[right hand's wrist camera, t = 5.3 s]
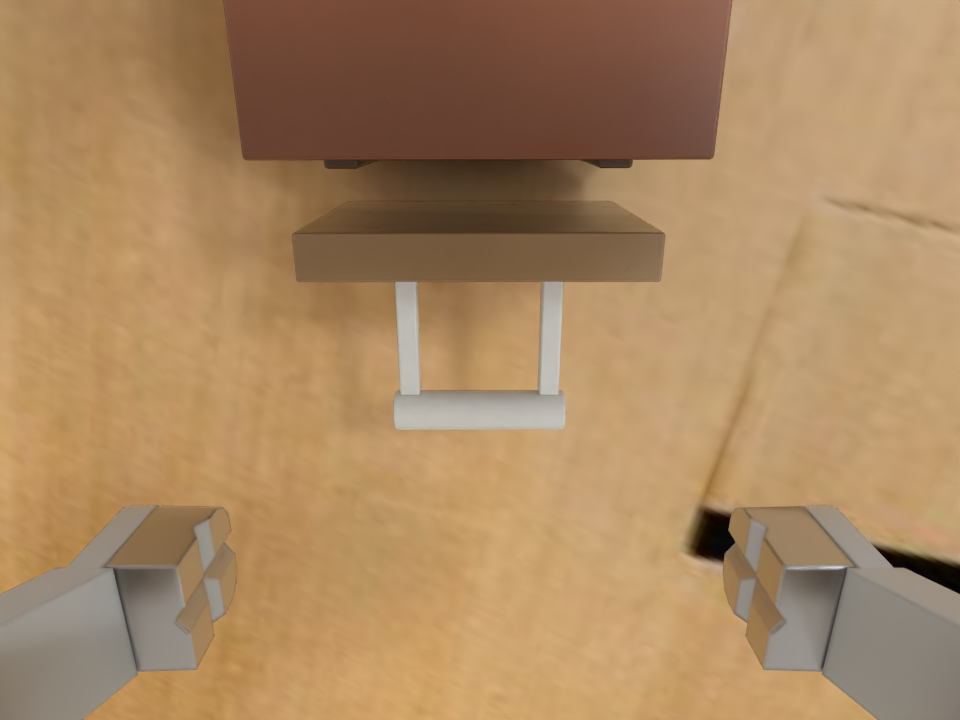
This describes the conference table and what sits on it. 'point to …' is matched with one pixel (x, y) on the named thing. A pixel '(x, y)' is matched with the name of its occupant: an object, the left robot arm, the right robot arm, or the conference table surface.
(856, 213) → the conference table surface
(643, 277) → the drawer
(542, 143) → the cabinet
